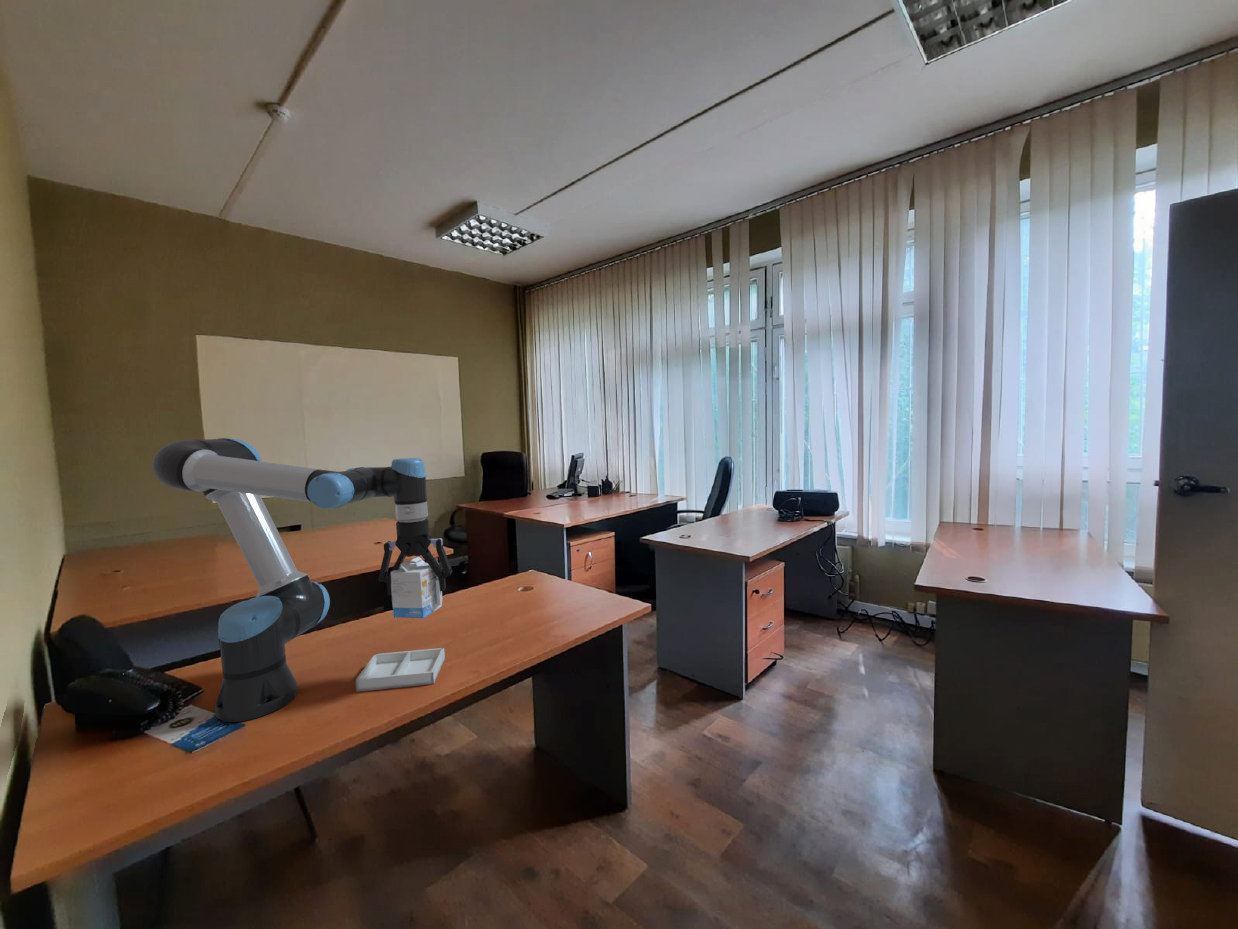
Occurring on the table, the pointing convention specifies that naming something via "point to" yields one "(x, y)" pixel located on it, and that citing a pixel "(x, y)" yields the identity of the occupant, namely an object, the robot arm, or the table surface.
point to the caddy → (401, 669)
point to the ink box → (414, 590)
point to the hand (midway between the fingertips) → (418, 605)
